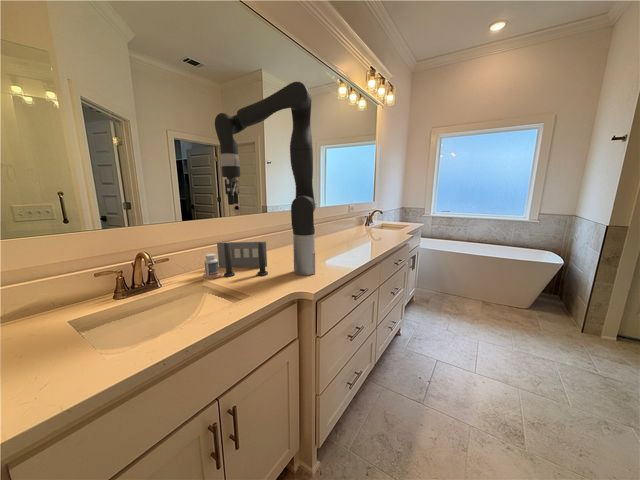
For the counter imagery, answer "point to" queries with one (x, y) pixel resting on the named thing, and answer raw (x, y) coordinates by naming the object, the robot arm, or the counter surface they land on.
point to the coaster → (212, 277)
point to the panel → (241, 254)
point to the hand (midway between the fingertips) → (233, 204)
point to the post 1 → (228, 261)
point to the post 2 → (262, 260)
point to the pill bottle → (211, 265)
